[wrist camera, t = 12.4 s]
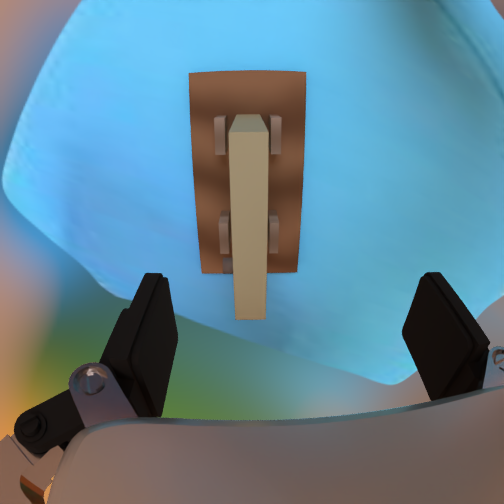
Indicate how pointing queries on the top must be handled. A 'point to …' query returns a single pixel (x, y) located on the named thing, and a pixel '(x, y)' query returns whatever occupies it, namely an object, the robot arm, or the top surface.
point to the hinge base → (217, 158)
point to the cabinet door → (248, 215)
